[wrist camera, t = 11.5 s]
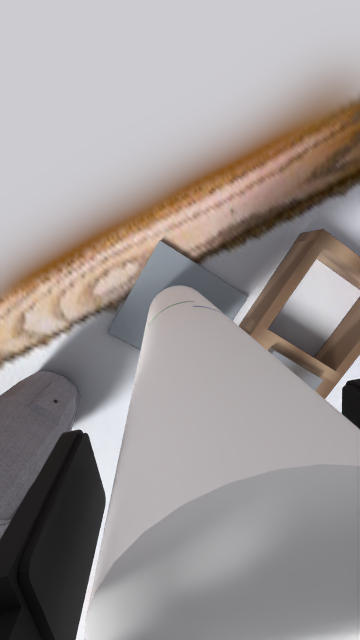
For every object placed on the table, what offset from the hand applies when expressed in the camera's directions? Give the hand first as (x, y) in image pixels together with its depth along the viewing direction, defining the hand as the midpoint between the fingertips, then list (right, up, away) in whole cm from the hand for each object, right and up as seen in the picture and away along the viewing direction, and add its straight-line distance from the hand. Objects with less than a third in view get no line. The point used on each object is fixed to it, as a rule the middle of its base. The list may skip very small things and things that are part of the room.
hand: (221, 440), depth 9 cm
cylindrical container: (-2, +5, +20) cm, 21 cm away
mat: (-2, +5, +21) cm, 21 cm away
